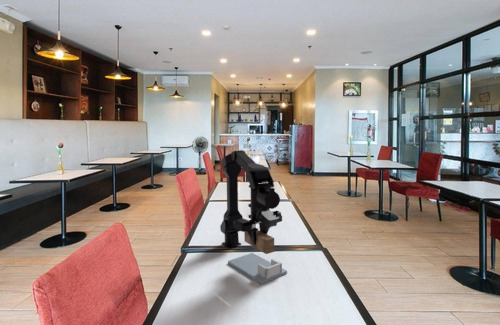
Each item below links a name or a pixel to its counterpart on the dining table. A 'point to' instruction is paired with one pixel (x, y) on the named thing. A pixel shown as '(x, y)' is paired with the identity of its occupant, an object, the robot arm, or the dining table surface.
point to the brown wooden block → (261, 242)
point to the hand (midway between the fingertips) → (258, 243)
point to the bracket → (258, 267)
